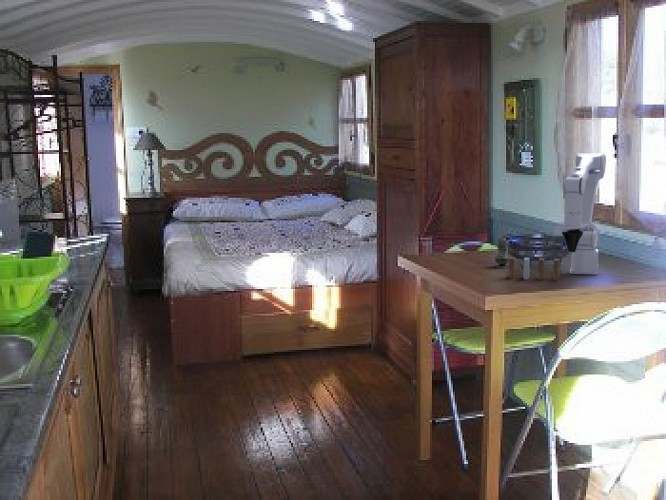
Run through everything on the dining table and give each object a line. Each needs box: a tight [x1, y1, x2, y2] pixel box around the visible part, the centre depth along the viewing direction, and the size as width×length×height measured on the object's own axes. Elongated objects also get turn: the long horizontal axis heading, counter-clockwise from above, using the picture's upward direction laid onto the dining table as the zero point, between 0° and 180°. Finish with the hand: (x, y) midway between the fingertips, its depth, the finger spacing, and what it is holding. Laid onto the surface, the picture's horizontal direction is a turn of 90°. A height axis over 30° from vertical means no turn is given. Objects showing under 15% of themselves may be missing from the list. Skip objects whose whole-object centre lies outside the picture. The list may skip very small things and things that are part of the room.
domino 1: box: [508, 256, 516, 280], centre depth 272 cm, size 2×4×7 cm, turn 161°
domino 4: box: [552, 258, 560, 282], centre depth 267 cm, size 2×4×7 cm, turn 161°
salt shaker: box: [494, 235, 511, 269], centre depth 293 cm, size 6×6×12 cm
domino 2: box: [522, 257, 531, 280], centre depth 271 cm, size 2×4×7 cm, turn 160°
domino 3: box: [537, 257, 545, 281], centre depth 269 cm, size 2×4×7 cm, turn 161°
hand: (571, 251), depth 265 cm, fingers closed
